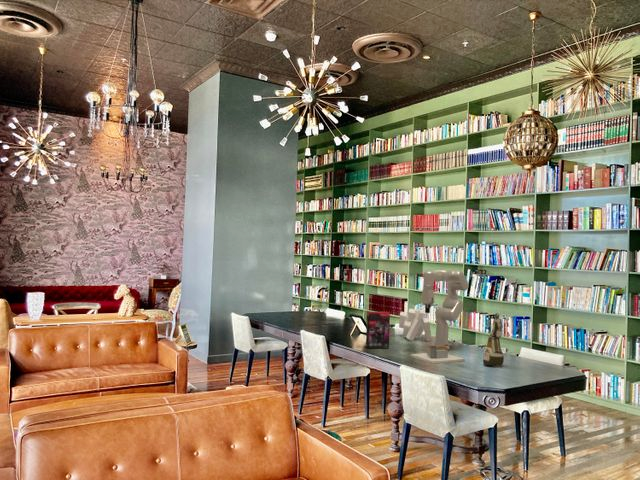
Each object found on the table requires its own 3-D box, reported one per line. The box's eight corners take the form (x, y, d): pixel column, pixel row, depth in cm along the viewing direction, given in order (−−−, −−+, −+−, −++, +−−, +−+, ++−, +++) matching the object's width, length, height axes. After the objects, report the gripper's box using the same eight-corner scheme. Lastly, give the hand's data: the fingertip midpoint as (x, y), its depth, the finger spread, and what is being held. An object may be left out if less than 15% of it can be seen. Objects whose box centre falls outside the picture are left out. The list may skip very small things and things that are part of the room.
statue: (495, 362, 345) (497, 311, 345) (508, 366, 335) (510, 313, 336) (477, 364, 337) (479, 312, 338) (490, 368, 327) (492, 314, 328)
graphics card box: (367, 348, 375) (369, 312, 376) (364, 346, 382) (366, 311, 383) (389, 348, 379) (390, 312, 379) (386, 347, 386) (387, 311, 386)
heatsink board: (441, 354, 367) (441, 340, 367) (464, 361, 346) (465, 346, 346) (410, 356, 354) (410, 342, 354) (432, 363, 333) (433, 348, 333)
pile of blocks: (387, 341, 441) (386, 308, 425) (410, 326, 457) (410, 294, 442) (418, 359, 416) (418, 325, 400) (441, 343, 432) (442, 309, 417)
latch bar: (446, 347, 356) (446, 343, 356) (449, 348, 353) (449, 344, 353) (427, 349, 347) (427, 345, 347) (430, 349, 344) (431, 345, 344)
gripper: (417, 287, 379) (417, 311, 378) (431, 289, 366) (430, 314, 365) (425, 287, 382) (424, 311, 382) (439, 289, 369) (438, 314, 369)
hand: (427, 312), depth 374 cm, fingers closed
